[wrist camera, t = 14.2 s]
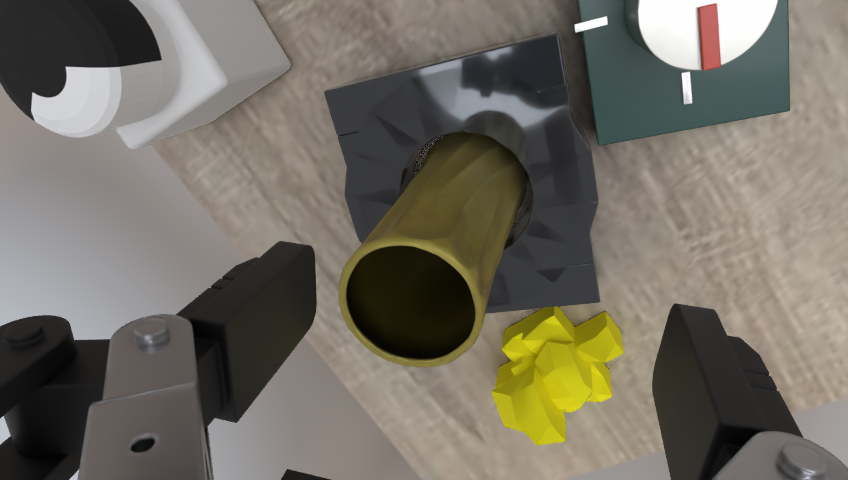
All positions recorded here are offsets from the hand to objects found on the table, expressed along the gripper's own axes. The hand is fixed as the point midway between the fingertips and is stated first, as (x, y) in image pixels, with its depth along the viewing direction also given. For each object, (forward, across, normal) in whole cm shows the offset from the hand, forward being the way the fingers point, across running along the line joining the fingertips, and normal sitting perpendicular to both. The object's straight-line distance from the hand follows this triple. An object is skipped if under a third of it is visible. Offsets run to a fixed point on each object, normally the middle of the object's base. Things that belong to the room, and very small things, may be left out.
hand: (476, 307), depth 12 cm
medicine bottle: (+20, +18, -3) cm, 27 cm away
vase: (+20, +3, +4) cm, 20 cm away
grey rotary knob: (+16, -6, -6) cm, 18 cm away
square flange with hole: (+19, +3, +4) cm, 20 cm away
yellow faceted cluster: (+20, -4, +14) cm, 24 cm away
